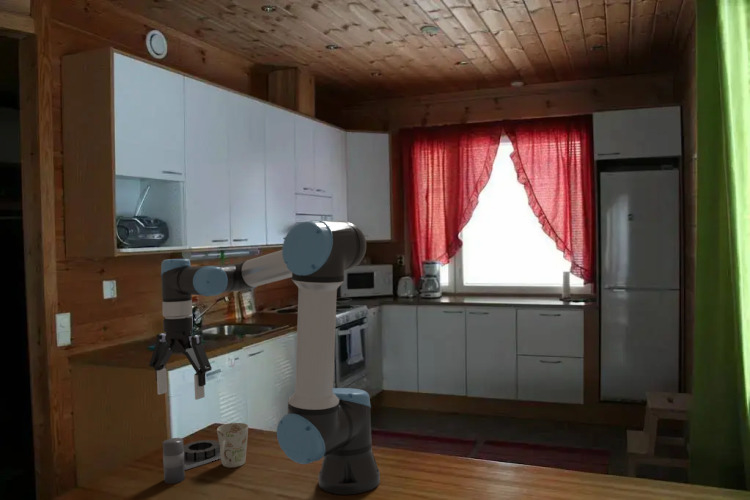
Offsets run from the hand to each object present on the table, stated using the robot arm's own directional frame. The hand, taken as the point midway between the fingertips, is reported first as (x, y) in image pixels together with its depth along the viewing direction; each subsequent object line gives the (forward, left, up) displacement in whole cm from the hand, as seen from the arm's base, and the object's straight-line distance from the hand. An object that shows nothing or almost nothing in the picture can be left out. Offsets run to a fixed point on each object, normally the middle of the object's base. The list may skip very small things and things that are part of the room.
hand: (180, 395), depth 163 cm
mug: (-8, -10, -20) cm, 24 cm away
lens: (-5, +5, -20) cm, 21 cm away
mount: (+5, -8, -20) cm, 22 cm away
